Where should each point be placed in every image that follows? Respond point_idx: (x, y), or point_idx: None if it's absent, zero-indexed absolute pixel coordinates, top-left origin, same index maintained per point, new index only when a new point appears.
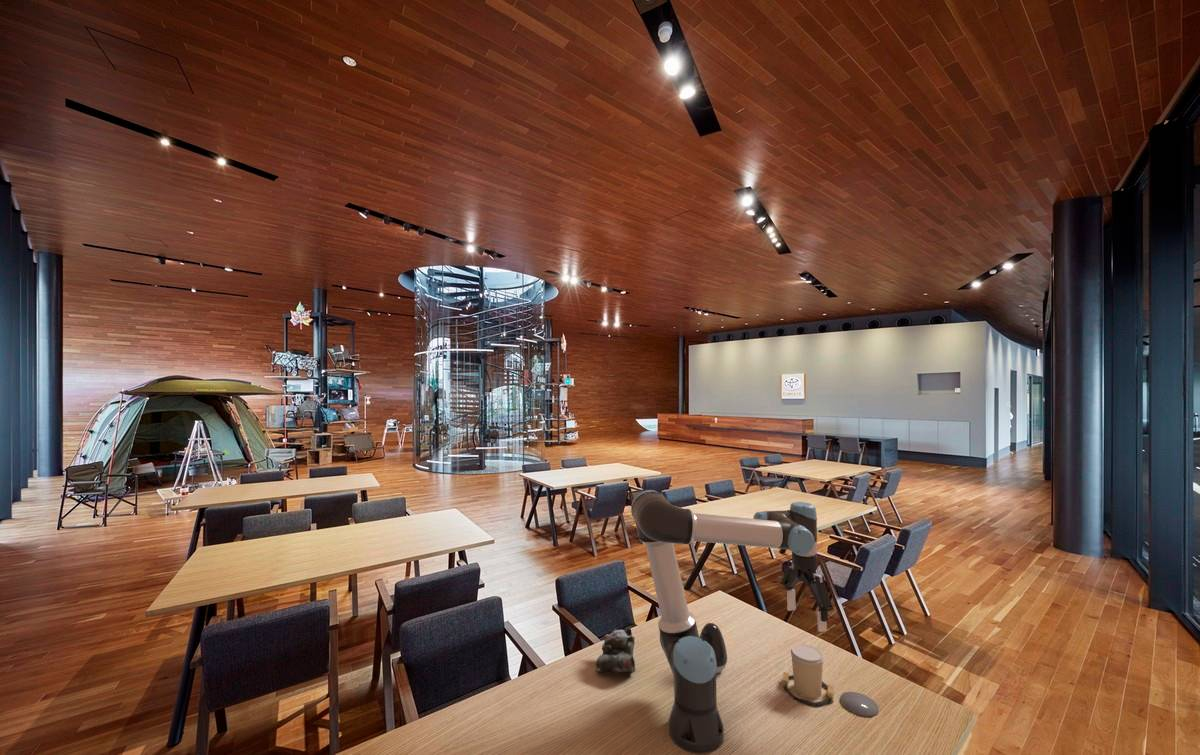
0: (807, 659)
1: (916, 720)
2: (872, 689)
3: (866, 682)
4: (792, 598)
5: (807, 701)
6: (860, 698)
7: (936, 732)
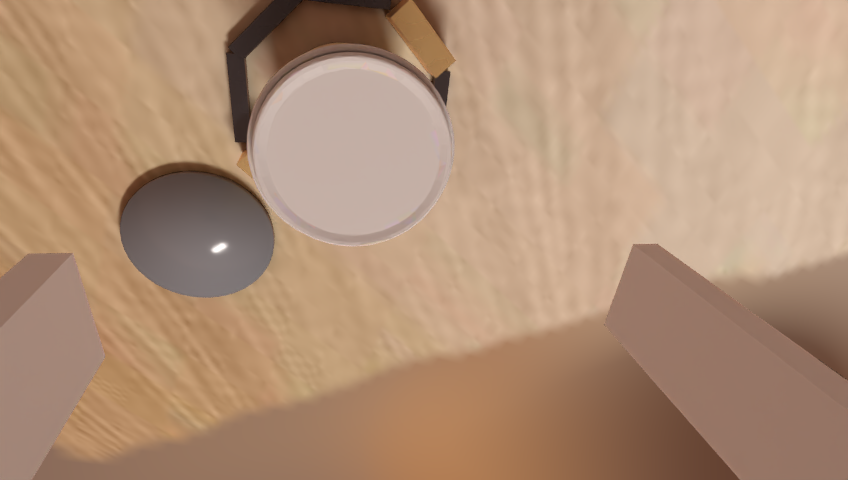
0: (280, 98)
1: None
2: (272, 336)
3: (311, 343)
4: (725, 400)
5: (262, 27)
6: (224, 263)
7: None
